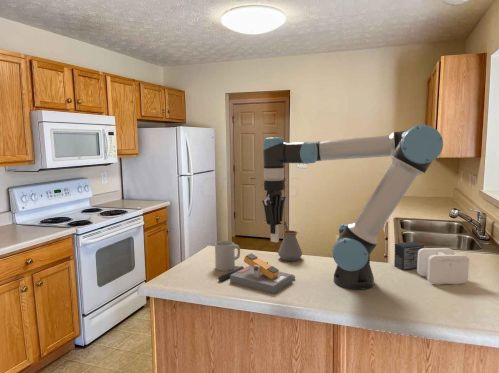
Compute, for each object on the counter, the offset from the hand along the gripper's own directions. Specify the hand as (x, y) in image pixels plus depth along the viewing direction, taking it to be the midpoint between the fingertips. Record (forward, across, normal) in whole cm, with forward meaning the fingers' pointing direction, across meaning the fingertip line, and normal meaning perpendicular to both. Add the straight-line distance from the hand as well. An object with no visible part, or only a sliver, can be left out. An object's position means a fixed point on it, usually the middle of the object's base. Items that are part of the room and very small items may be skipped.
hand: (274, 241), depth 137 cm
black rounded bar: (+17, +1, -20) cm, 27 cm away
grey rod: (+17, -9, -5) cm, 20 cm away
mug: (+17, -7, -28) cm, 34 cm away
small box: (+18, -50, +38) cm, 65 cm away
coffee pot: (+18, -36, -14) cm, 42 cm away
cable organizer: (+18, -41, +52) cm, 68 cm away
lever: (+12, 0, -7) cm, 14 cm away
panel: (+17, 0, -6) cm, 18 cm away
